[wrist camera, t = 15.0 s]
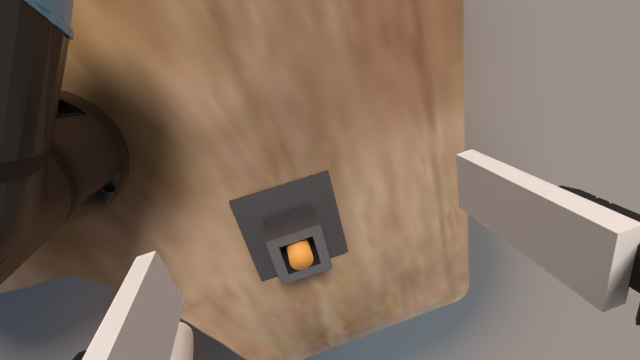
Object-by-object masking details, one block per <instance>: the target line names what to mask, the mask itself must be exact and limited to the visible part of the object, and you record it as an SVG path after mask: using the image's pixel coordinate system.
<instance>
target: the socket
mask: <svg viewBox="0 0 640 360" xmlns="http://www.w3.org/2000/svg"><path fill="white" fill-rule="evenodd" d="M263 225H264V235H265V243H266V246H267V248H268V251H269V254H270V256H271V259H272V261H273V264H274V267H275V269H276V272H277V274H278V277H279V280H280V282H281V285H285V284H287V283H290V282H293V281H296V280H299V279H302V278H305V277H308V276H311V275H313V274H316V273H319V272H322V271H325V270H328V269H331V268H333V267H332V264H331V260H330V257H329V253H328V250H327V246H326V243H325V239H324V236H323V232H322V229H321V225H320V223H319V220H318V218H317V216H316V213H315V211H314V209H313V206H312V204H311V203H310V204H307V205H304V206H301V207H298V208H295V209H291V210H288V211H285V212H282V213H279V214H276V215H273V216H270V217H267V218H264V219H263ZM309 237H312V239H310V240H308V242H309V245H310V248H311V251H312V254H313V263H312V264H311V266H310V267H308V268H307V269H304V270H296V269H294V268H292V267H291V265H290V262H289V257H288V252H287V248H283V246H285V245H288V244H291V243H294V242H297V241H300V240H303V239H306V238H309Z"/></svg>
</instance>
